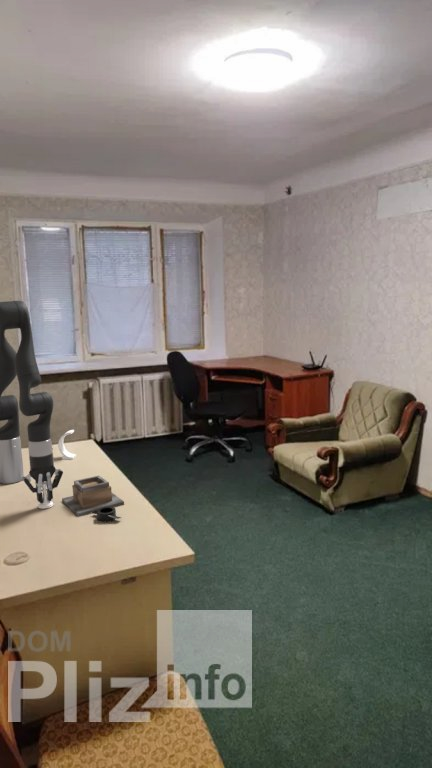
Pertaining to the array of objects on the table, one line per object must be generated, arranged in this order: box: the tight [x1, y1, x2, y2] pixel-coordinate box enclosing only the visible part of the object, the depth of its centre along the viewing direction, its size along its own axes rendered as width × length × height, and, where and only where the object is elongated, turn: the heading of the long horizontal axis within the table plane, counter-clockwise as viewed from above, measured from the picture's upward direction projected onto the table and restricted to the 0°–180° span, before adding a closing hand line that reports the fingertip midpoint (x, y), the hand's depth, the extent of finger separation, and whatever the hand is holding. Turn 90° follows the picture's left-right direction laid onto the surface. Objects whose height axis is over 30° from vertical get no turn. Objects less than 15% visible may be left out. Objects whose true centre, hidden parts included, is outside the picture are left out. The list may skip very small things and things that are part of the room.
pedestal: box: [61, 475, 125, 517], centre depth 183 cm, size 16×16×8 cm
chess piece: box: [37, 481, 54, 510], centre depth 181 cm, size 5×5×10 cm
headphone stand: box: [57, 429, 77, 460], centre depth 234 cm, size 5×6×12 cm
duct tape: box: [91, 507, 122, 523], centre depth 170 cm, size 8×10×3 cm
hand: (45, 501), depth 181 cm, fingers closed on chess piece
